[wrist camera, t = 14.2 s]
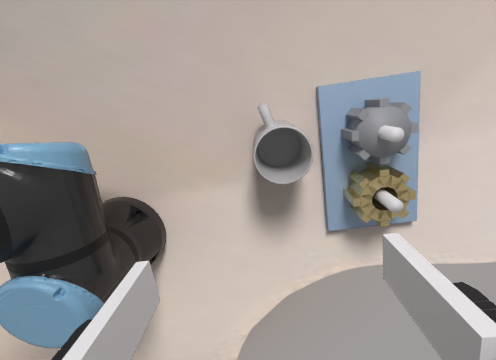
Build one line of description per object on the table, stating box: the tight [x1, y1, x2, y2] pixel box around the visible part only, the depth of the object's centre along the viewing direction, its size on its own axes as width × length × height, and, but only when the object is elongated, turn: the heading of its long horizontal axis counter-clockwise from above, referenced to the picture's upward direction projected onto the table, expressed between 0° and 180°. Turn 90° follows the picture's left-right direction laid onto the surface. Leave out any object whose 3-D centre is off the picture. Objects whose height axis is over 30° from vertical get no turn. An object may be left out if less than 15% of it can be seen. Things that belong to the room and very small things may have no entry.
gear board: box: [316, 71, 420, 231], centre depth 43 cm, size 16×26×10 cm, turn 8°
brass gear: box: [343, 162, 416, 227], centre depth 45 cm, size 10×10×6 cm
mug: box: [253, 103, 313, 184], centre depth 42 cm, size 12×8×11 cm
